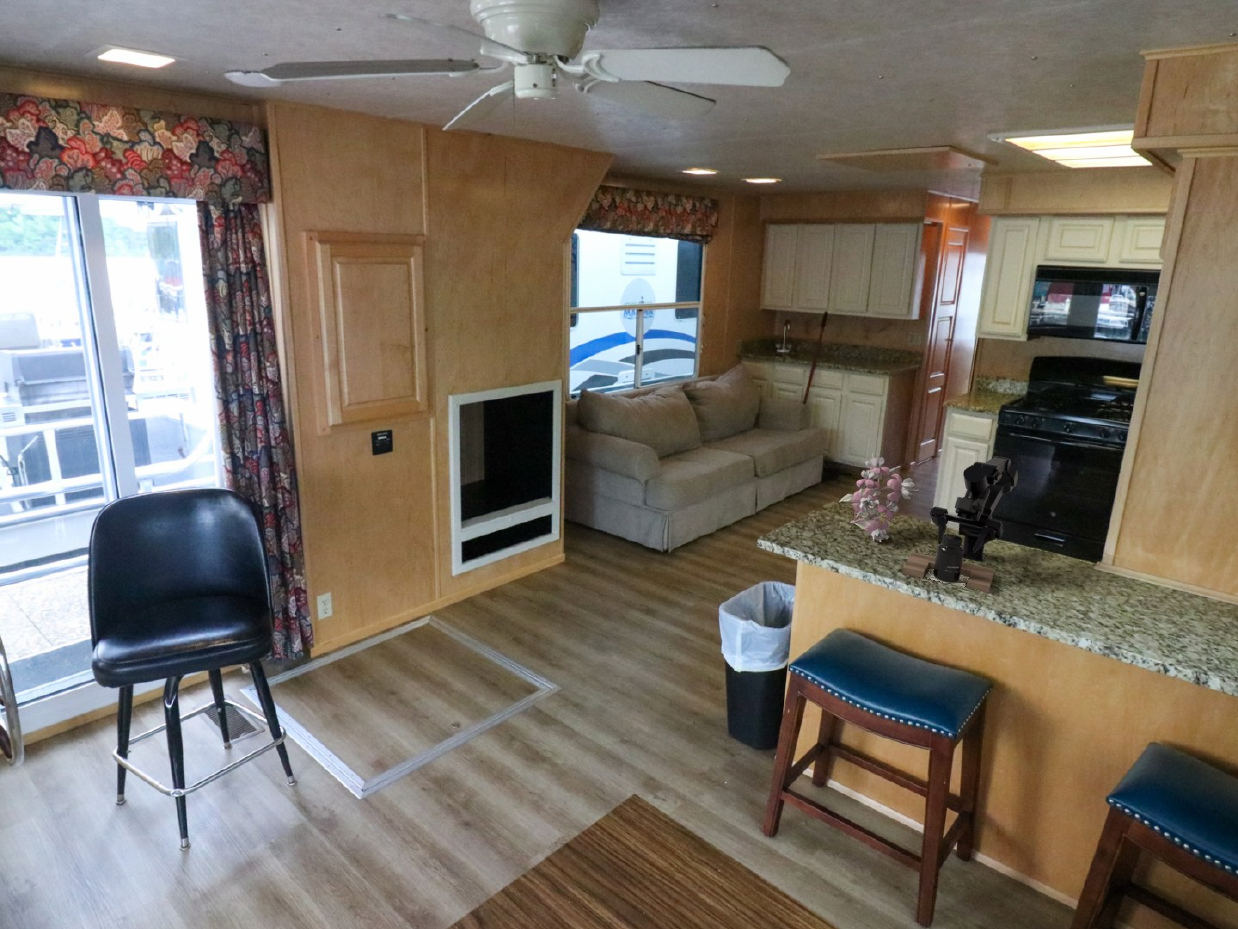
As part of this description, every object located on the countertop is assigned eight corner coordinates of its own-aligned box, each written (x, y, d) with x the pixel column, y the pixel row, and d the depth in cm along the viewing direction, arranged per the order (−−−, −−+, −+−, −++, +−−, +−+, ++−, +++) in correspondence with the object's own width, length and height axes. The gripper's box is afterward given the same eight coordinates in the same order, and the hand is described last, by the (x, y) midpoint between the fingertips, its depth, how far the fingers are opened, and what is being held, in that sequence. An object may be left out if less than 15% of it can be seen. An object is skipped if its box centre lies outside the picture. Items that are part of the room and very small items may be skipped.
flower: (813, 526, 244) (852, 466, 231) (839, 503, 262) (877, 446, 248) (867, 566, 237) (910, 506, 224) (890, 539, 255) (932, 482, 241)
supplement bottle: (950, 585, 207) (956, 543, 204) (927, 576, 212) (933, 535, 209) (964, 579, 211) (971, 538, 208) (941, 571, 216) (948, 531, 213)
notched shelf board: (911, 558, 225) (912, 552, 225) (993, 575, 215) (994, 569, 214) (902, 574, 214) (903, 567, 213) (988, 593, 203) (989, 586, 202)
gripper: (936, 479, 218) (917, 525, 213) (1007, 493, 206) (989, 542, 201) (942, 499, 226) (923, 544, 221) (1010, 514, 214) (992, 562, 209)
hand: (956, 547), depth 213 cm, fingers open, 9 cm apart
